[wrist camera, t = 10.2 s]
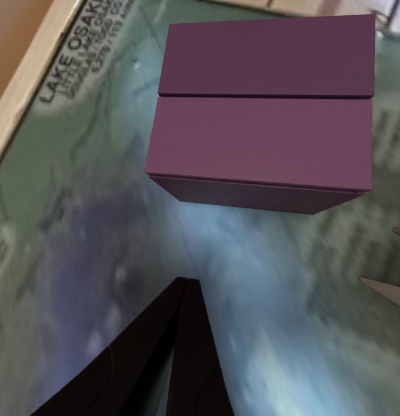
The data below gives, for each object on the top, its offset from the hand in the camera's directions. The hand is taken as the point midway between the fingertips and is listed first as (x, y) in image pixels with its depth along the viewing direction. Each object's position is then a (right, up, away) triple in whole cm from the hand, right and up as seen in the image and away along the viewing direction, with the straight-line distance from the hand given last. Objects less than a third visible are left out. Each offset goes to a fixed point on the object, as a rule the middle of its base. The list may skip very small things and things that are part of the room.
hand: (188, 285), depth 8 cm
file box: (+5, +8, +14) cm, 17 cm away
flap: (+4, +7, +5) cm, 10 cm away
